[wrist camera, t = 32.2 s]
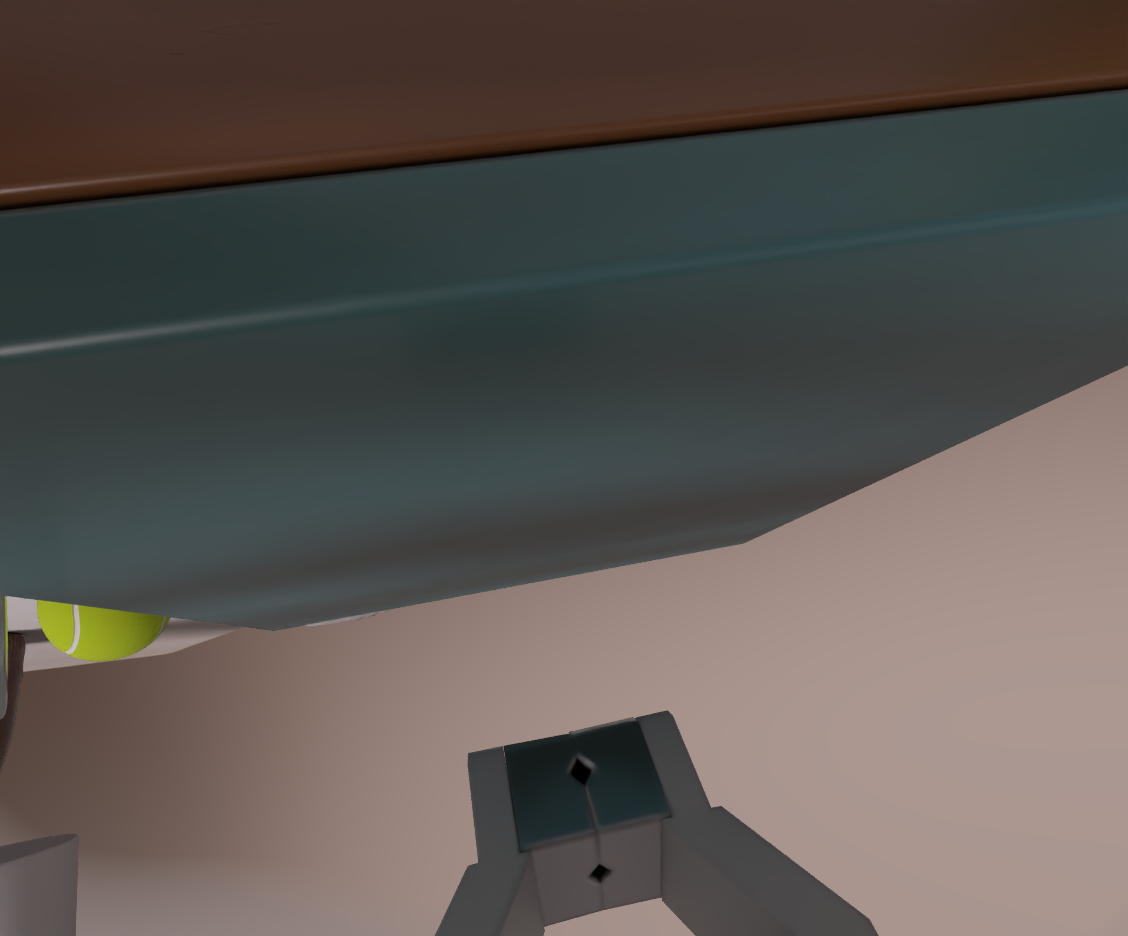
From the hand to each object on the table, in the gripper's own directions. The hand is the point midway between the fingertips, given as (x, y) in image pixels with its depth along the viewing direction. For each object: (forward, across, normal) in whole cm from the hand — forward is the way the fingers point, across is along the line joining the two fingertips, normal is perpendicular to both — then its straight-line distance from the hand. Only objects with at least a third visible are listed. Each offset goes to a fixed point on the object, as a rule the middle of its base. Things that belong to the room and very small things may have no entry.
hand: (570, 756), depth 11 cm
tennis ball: (+34, +23, +16) cm, 45 cm away
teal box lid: (+3, 0, -3) cm, 4 cm away
